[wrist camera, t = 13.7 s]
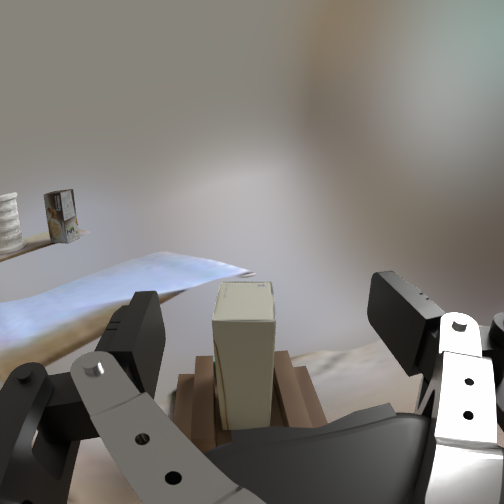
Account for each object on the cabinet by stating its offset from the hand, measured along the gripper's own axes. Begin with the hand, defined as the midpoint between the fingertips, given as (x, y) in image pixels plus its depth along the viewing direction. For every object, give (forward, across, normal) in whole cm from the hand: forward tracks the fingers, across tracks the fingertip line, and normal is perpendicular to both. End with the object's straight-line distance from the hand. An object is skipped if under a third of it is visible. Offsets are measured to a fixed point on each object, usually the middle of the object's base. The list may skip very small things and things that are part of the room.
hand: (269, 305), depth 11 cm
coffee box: (+78, +54, +19) cm, 97 cm away
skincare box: (+10, +1, +18) cm, 20 cm away
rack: (+10, +1, +18) cm, 21 cm away
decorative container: (+73, +75, +18) cm, 106 cm away
